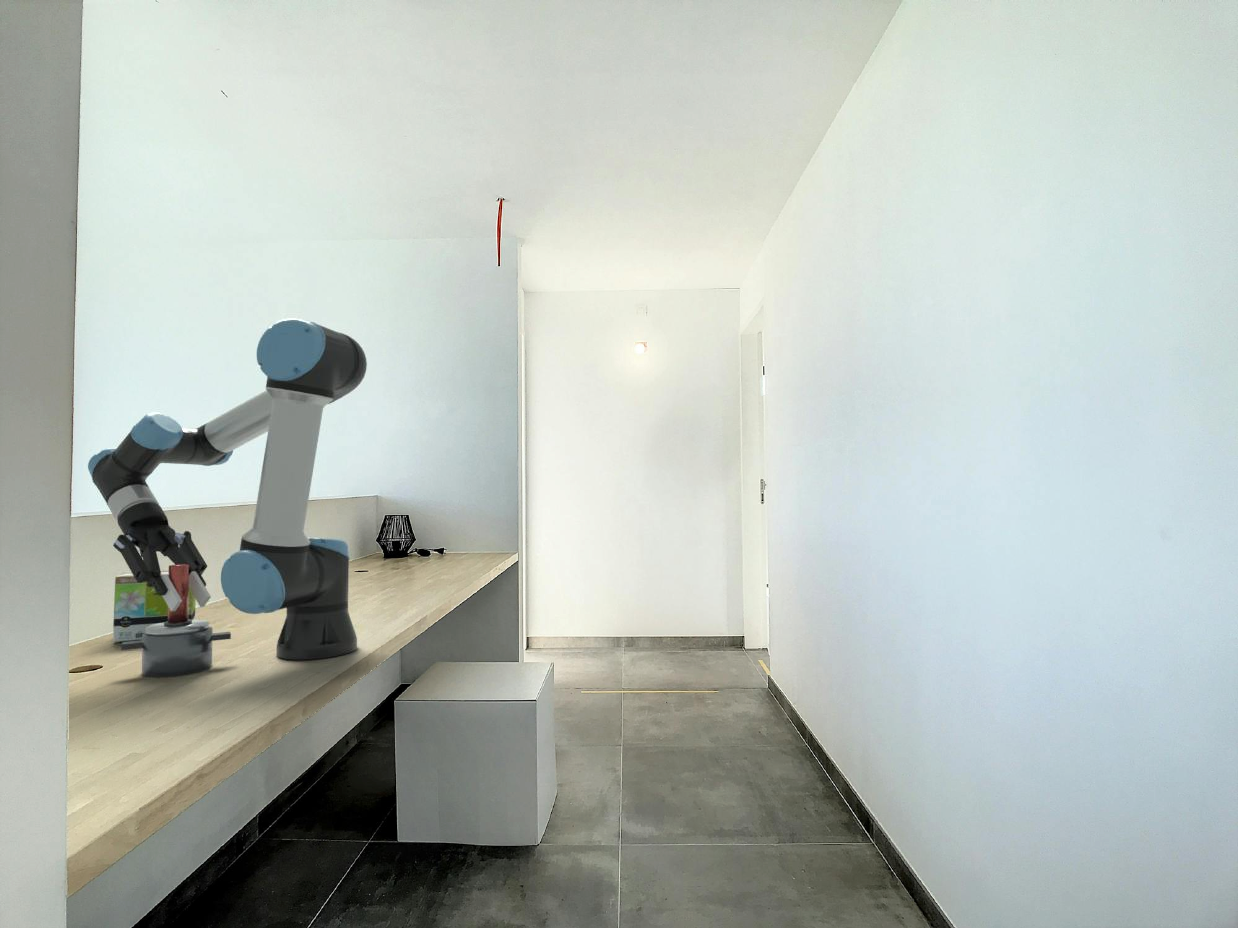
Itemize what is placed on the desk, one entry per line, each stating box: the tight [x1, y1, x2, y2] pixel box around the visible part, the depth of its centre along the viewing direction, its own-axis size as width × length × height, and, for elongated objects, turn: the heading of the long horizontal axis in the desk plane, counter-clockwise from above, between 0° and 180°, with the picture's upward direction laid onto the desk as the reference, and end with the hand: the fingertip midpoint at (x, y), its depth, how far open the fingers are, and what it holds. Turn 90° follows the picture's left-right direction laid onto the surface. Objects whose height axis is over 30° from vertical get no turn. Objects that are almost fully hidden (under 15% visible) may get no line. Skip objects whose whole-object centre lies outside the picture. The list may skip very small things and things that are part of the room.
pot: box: [120, 625, 232, 678], centre depth 130 cm, size 17×11×7 cm, turn 121°
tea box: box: [112, 570, 197, 644], centre depth 161 cm, size 15×10×15 cm, turn 117°
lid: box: [145, 564, 210, 637], centre depth 130 cm, size 10×10×12 cm
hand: (191, 603), depth 128 cm, fingers open, 5 cm apart
